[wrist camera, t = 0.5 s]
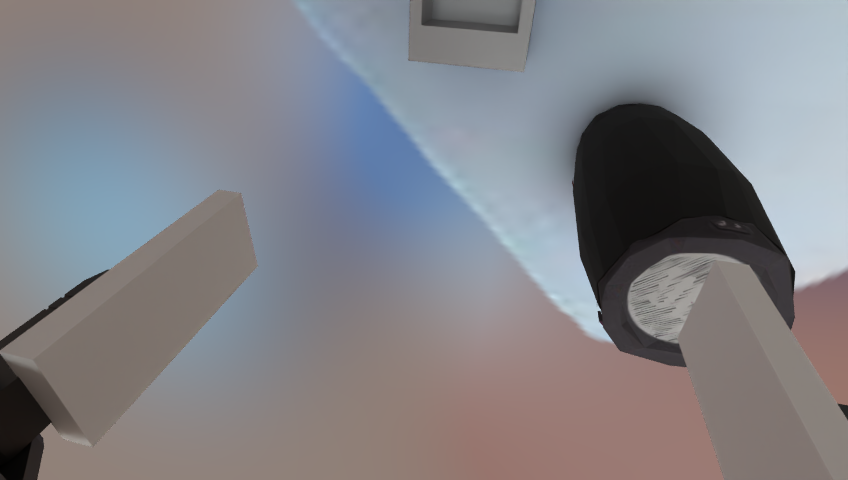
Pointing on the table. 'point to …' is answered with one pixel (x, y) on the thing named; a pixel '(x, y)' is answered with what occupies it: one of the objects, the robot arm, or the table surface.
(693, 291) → the portable speaker
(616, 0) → the table surface
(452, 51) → the socket strip
